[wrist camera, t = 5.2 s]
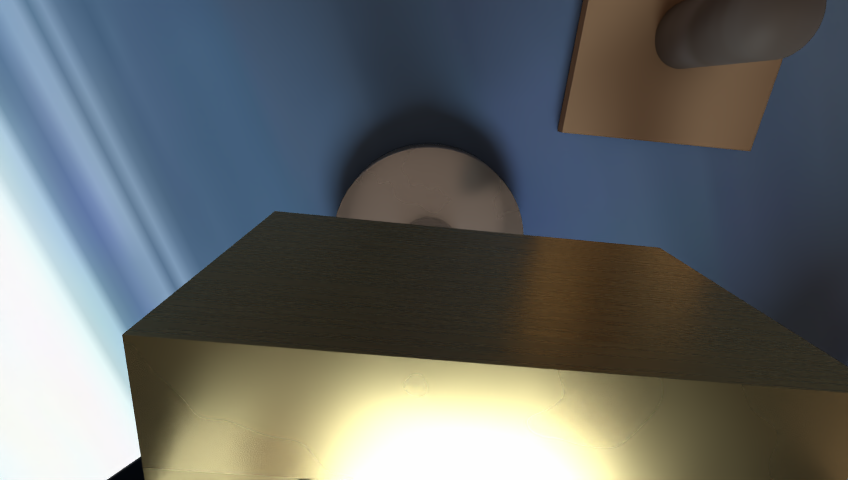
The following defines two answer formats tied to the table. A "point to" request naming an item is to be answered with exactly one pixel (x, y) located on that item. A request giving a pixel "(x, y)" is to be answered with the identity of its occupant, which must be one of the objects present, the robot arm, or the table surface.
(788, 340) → the brass square frame
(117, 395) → the table surface
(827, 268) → the table surface
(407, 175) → the cylinder
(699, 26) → the walnut stand
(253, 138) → the table surface
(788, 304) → the table surface
